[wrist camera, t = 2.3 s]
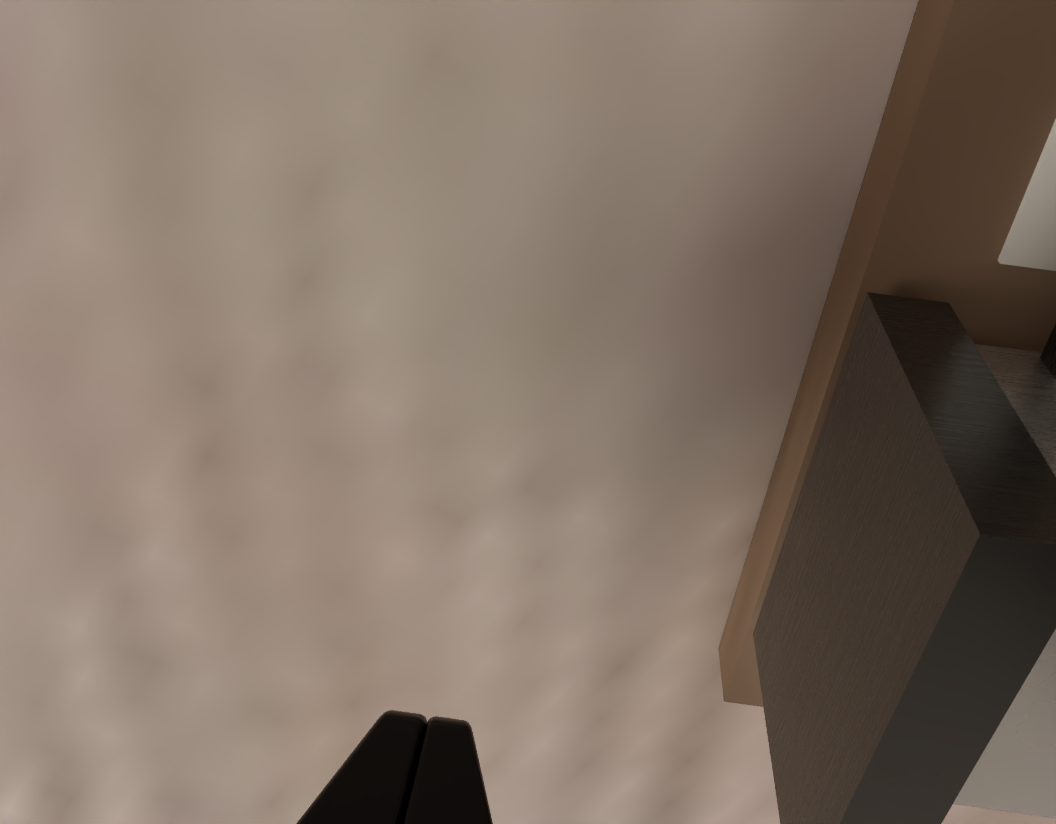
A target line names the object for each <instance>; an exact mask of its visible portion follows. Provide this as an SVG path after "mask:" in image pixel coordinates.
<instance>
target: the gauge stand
mask: <svg viewBox="0 0 1056 824" xmlns="http://www.w3.org/2000/svg"><path fill="white" fill-rule="evenodd" d="M867 292H870V293H878V294H886V295H893V296H901V297H909V298H916V299H924V300H932V301H939V302H947V303H949V304H950V305H951V307H952V309H953V310H954V312H955V313H956V315H957V317H958V318H959V320H960V322H961V323H962V325H963V326H964V328H965V330H966V331H967V333H968V335H969V336H970V338H971V339H972V341H973V343H974V344H982V345H989V346H997V347H1005V348H1012V349H1020V350H1028V351H1035V352H1042V351H1043V349H1044V347H1045V345H1046V343H1047V341H1048V339H1049V336H1050V334H1051V332H1052V330H1053V328H1054V326H1055V324H1056V0H919V2H918V5H917V8H916V11H915V15H914V18H913V21H912V24H911V27H910V31H909V34H908V37H907V40H906V44H905V47H904V50H903V53H902V57H901V60H900V63H899V66H898V70H897V73H896V76H895V79H894V82H893V86H892V89H891V92H890V95H889V99H888V102H887V105H886V108H885V112H884V115H883V118H882V121H881V125H880V128H879V131H878V134H877V137H876V141H875V144H874V147H873V150H872V154H871V157H870V160H869V163H868V167H867V170H866V173H865V176H864V180H863V183H862V186H861V189H860V192H859V196H858V199H857V202H856V205H855V209H854V212H853V215H852V218H851V222H850V225H849V228H848V231H847V235H846V238H845V241H844V244H843V247H842V251H841V254H840V257H839V260H838V264H837V267H836V270H835V273H834V277H833V280H832V283H831V286H830V289H829V293H828V296H827V299H826V302H825V306H824V309H823V312H822V315H821V319H820V322H819V325H818V328H817V332H816V335H815V338H814V341H813V344H812V348H811V351H810V354H809V357H808V361H807V364H806V367H805V370H804V374H803V377H802V380H801V383H800V387H799V390H798V393H797V396H796V399H795V403H794V406H793V409H792V412H791V416H790V419H789V422H788V425H787V429H786V432H785V435H784V438H783V442H782V445H781V448H780V451H779V454H778V458H777V461H776V464H775V467H774V471H773V474H772V477H771V480H770V484H769V487H768V490H767V493H766V497H765V500H764V503H763V506H762V509H761V513H760V516H759V519H758V522H757V526H756V529H755V532H754V535H753V539H752V542H751V545H750V548H749V551H748V555H747V558H746V561H745V564H744V568H743V571H742V574H741V577H740V581H739V584H738V587H737V590H736V594H735V597H734V600H733V603H732V606H731V610H730V613H729V616H728V619H727V623H726V626H725V629H724V632H723V636H722V639H721V642H720V645H719V658H720V667H721V677H722V687H723V697H724V701H725V702H732V703H739V704H747V705H754V706H761V707H764V706H763V699H762V693H761V686H760V679H759V672H758V665H757V658H756V651H755V644H754V637H753V632H754V629H755V626H756V623H757V620H758V617H759V614H760V611H761V608H762V605H763V602H764V599H765V596H766V593H767V590H768V587H769V584H770V581H771V578H772V575H773V572H774V569H775V566H776V563H777V560H778V557H779V554H780V551H781V548H782V545H783V542H784V539H785V536H786V533H787V530H788V527H789V524H790V521H791V518H792V515H793V512H794V509H795V506H796V503H797V500H798V497H799V494H800V491H801V488H802V485H803V482H804V479H805V476H806V473H807V470H808V467H809V464H810V461H811V458H812V455H813V452H814V449H815V446H816V443H817V440H818V437H819V434H820V431H821V428H822V425H823V422H824V419H825V416H826V413H827V410H828V407H829V404H830V401H831V398H832V395H833V392H834V389H835V386H836V383H837V380H838V377H839V375H840V372H841V369H842V366H843V363H844V360H845V357H846V354H847V351H848V348H849V345H850V342H851V339H852V336H853V333H854V330H855V327H856V324H857V321H858V318H859V315H860V312H861V309H862V306H863V303H864V300H865V297H866V294H867Z"/></svg>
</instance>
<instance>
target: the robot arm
mask: <svg viewBox="0 0 1056 824" xmlns="http://www.w3.org/2000/svg"><path fill="white" fill-rule="evenodd" d="M297 824H493V823H492V818H491V814H490V809H489V805H488V800H487V796H486V791H485V787H484V782H483V778H482V773H481V768H480V764H479V759H478V755H477V750H476V746H475V741H474V737H473V732H472V728H471V726H470V724H469V723H468V722H467V721H464V720H458V719H451V718H444V717H437V716H436V717H432V718H430V719H429V720H428V722H427V720H426V717H424V716H423V715H421V714H416V713H409V712H402V711H394V710H390V711H387V712H385V713H384V714H383V715H382V716H380V718H379V719H378V720H377V721H376V723H375V724H374V725H373V726H372V728H371V729H370V730H369V731H368V733H367V734H366V735H365V737H364V738H363V739H362V740H361V742H360V743H359V744H358V746H357V747H356V748H355V749H354V751H353V752H352V753H351V755H350V756H349V757H348V758H347V760H346V761H345V762H344V763H343V765H342V766H341V767H340V769H339V770H338V771H337V772H336V774H335V775H334V776H333V778H332V779H331V780H330V781H329V783H328V784H327V785H326V786H325V788H324V789H323V790H322V792H321V793H320V794H319V795H318V797H317V798H316V799H315V801H314V802H313V803H312V804H311V806H310V807H309V808H308V810H307V811H306V812H305V813H304V815H303V816H302V817H301V818H300V820H299V821H298V822H297Z"/></svg>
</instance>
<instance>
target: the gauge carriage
mask: <svg viewBox="0 0 1056 824" xmlns="http://www.w3.org/2000/svg"><path fill="white" fill-rule="evenodd" d="M753 637H754V644H755V651H756V658H757V665H758V672H759V679H760V686H761V693H762V699H763V706H764V713H765V720H766V727H767V734H768V741H769V748H770V755H771V761H772V768H773V775H774V782H775V789H776V796H777V803H778V810H779V817H780V823H781V824H941V823H942V821H943V820H944V818H945V816H946V814H947V813H948V811H949V809H950V808H951V806H952V804H957V805H964V806H972V807H979V808H986V809H993V810H1000V811H1007V812H1014V813H1022V814H1029V815H1036V816H1043V817H1050V818H1056V324H1055V326H1054V328H1053V330H1052V332H1051V334H1050V336H1049V339H1048V341H1047V343H1046V345H1045V347H1044V349H1043V351H1042V352H1035V351H1028V350H1020V349H1012V348H1005V347H997V346H989V345H982V344H974V343H973V341H972V339H971V338H970V336H969V335H968V333H967V331H966V330H965V328H964V326H963V325H962V323H961V322H960V320H959V318H958V317H957V315H956V313H955V312H954V310H953V309H952V307H951V305H950V304H949V303H947V302H939V301H932V300H924V299H916V298H909V297H901V296H893V295H886V294H878V293H870V292H867V294H866V297H865V300H864V303H863V306H862V309H861V312H860V315H859V318H858V321H857V324H856V327H855V330H854V333H853V336H852V339H851V342H850V345H849V348H848V351H847V354H846V357H845V360H844V363H843V366H842V369H841V372H840V375H839V377H838V380H837V383H836V386H835V389H834V392H833V395H832V398H831V401H830V404H829V407H828V410H827V413H826V416H825V419H824V422H823V425H822V428H821V431H820V434H819V437H818V440H817V443H816V446H815V449H814V452H813V455H812V458H811V461H810V464H809V467H808V470H807V473H806V476H805V479H804V482H803V485H802V488H801V491H800V494H799V497H798V500H797V503H796V506H795V509H794V512H793V515H792V518H791V521H790V524H789V527H788V530H787V533H786V536H785V539H784V542H783V545H782V548H781V551H780V554H779V557H778V560H777V563H776V566H775V569H774V572H773V575H772V578H771V581H770V584H769V587H768V590H767V593H766V596H765V599H764V602H763V605H762V608H761V611H760V614H759V617H758V620H757V623H756V626H755V629H754V632H753Z"/></svg>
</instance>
